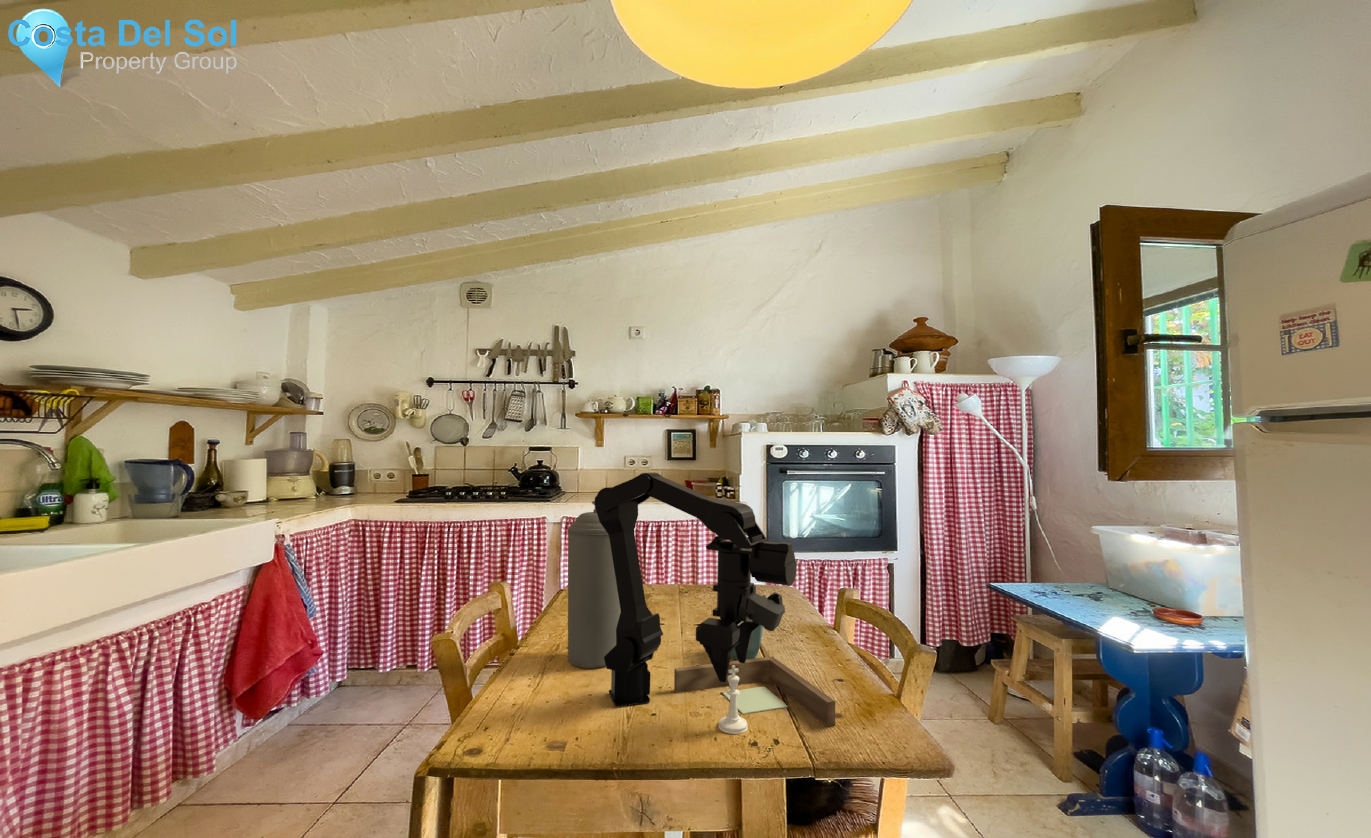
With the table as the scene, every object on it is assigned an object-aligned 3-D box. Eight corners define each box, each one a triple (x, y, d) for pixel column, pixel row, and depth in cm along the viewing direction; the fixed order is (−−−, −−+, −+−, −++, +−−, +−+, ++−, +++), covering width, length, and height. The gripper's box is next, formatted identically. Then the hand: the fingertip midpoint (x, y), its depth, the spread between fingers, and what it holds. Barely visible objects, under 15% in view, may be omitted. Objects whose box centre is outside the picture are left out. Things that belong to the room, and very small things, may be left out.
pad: (742, 714, 97) (742, 713, 97) (722, 693, 105) (722, 692, 105) (787, 707, 100) (787, 706, 100) (764, 687, 108) (764, 686, 108)
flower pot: (762, 665, 119) (762, 623, 120) (722, 662, 121) (722, 620, 122) (764, 651, 128) (764, 612, 129) (727, 648, 130) (727, 609, 130)
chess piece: (713, 722, 93) (714, 662, 94) (739, 718, 95) (740, 658, 96) (725, 736, 89) (726, 672, 90) (753, 731, 91) (753, 669, 91)
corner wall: (718, 746, 86) (719, 719, 86) (674, 689, 106) (674, 668, 107) (835, 725, 93) (835, 701, 93) (772, 676, 114) (772, 656, 114)
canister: (553, 658, 122) (557, 500, 124) (601, 646, 130) (605, 497, 133) (582, 676, 112) (587, 504, 115) (633, 661, 121) (636, 501, 123)
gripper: (762, 596, 82) (762, 703, 81) (793, 573, 99) (793, 662, 98) (695, 587, 87) (693, 689, 86) (735, 566, 104) (734, 651, 102)
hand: (732, 671), depth 93 cm, fingers open, 9 cm apart
